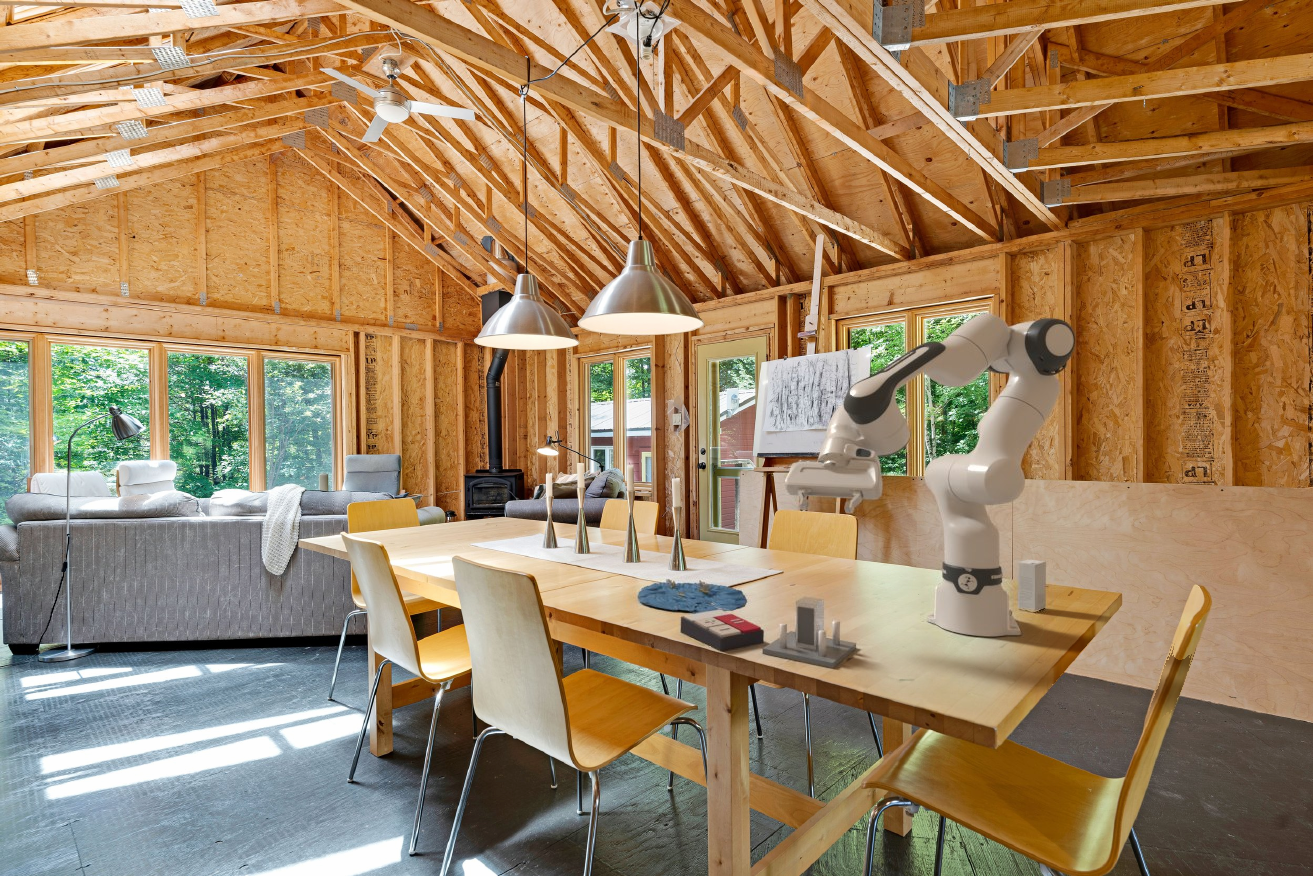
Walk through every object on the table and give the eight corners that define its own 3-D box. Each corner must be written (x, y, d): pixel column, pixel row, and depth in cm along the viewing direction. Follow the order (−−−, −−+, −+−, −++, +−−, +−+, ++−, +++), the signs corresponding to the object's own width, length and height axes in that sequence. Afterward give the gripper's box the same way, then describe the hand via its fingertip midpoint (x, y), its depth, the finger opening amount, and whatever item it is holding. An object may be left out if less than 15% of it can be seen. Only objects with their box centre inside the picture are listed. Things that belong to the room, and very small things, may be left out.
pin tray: (790, 635, 132) (790, 610, 132) (856, 648, 124) (856, 620, 124) (762, 653, 120) (762, 625, 120) (832, 668, 112) (832, 638, 112)
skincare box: (1027, 606, 157) (1027, 558, 157) (1047, 609, 153) (1046, 561, 153) (1016, 609, 153) (1016, 561, 153) (1036, 613, 150) (1036, 564, 150)
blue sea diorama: (771, 604, 165) (772, 584, 165) (700, 626, 143) (701, 603, 143) (688, 582, 185) (688, 565, 185) (614, 599, 163) (615, 579, 163)
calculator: (721, 635, 121) (680, 613, 134) (721, 656, 121) (679, 632, 134) (765, 626, 127) (720, 606, 140) (764, 647, 127) (720, 625, 140)
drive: (804, 641, 125) (804, 596, 125) (823, 644, 122) (823, 599, 123) (795, 647, 121) (795, 601, 121) (815, 651, 119) (815, 604, 119)
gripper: (790, 450, 139) (773, 497, 131) (884, 451, 128) (873, 502, 120) (796, 469, 143) (781, 515, 135) (888, 472, 132) (878, 522, 124)
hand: (825, 509), depth 127 cm, fingers open, 8 cm apart
